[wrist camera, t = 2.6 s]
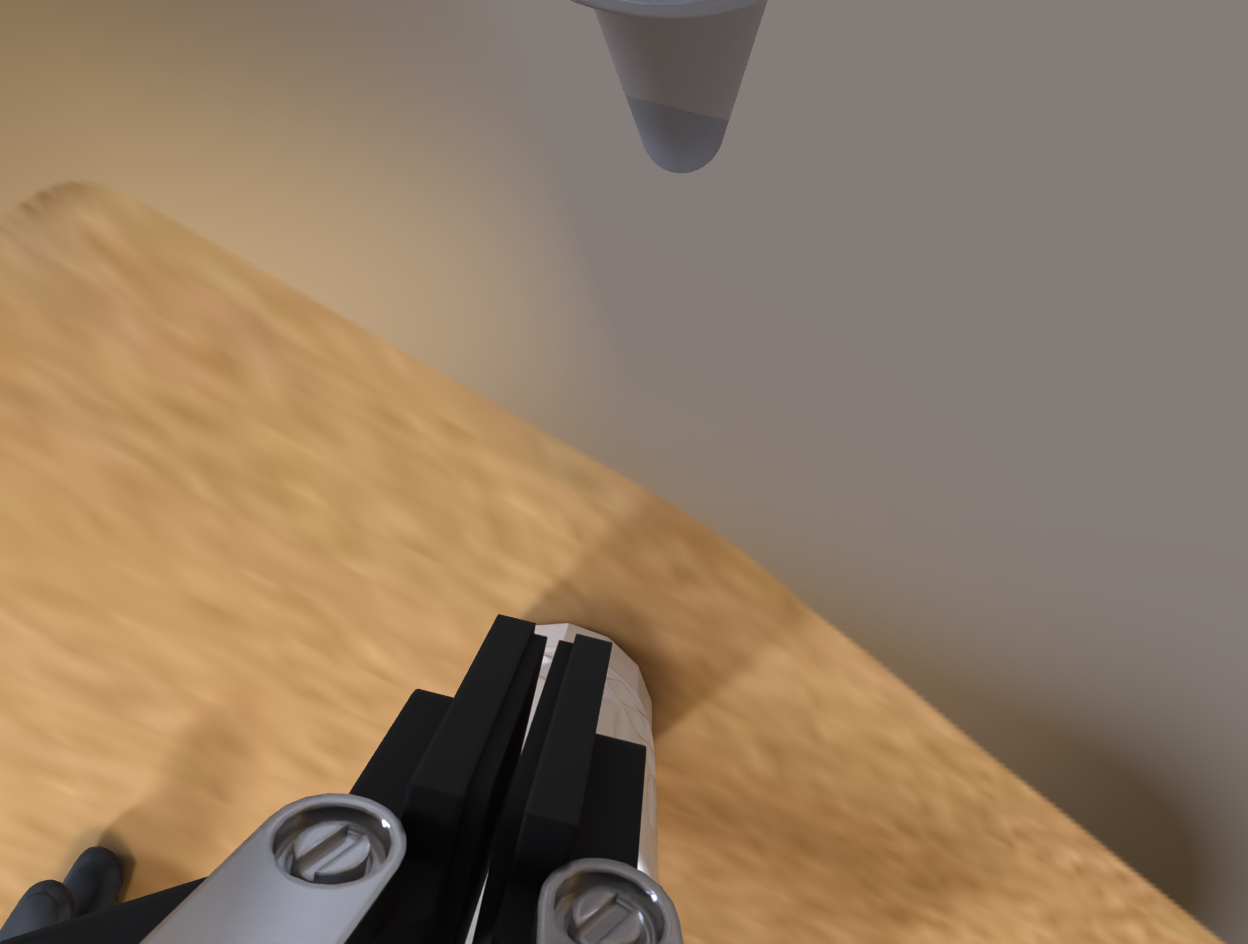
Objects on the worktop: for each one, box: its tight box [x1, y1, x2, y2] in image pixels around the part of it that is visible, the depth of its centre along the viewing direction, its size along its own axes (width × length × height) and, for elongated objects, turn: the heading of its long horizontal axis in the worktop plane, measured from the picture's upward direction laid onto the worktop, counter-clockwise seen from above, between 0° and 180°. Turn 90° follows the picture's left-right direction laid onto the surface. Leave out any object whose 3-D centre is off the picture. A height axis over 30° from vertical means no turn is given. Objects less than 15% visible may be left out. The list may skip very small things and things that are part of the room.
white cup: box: [465, 623, 659, 944], centre depth 26 cm, size 8×8×10 cm
